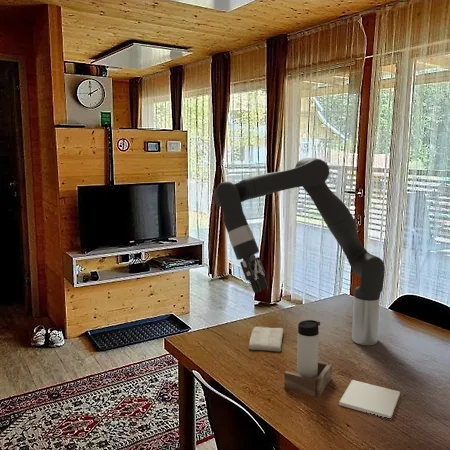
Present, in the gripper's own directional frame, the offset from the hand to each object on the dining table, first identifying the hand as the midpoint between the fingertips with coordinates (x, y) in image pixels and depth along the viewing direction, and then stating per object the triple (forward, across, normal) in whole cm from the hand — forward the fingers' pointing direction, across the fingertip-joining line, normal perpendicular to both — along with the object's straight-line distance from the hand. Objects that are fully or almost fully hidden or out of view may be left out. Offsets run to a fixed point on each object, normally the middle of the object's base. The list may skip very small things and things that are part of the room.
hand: (261, 290), depth 142 cm
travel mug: (+32, +3, -2) cm, 32 cm away
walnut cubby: (+32, +3, -2) cm, 32 cm away
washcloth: (+20, +29, +14) cm, 38 cm away
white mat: (+40, 0, -19) cm, 44 cm away
